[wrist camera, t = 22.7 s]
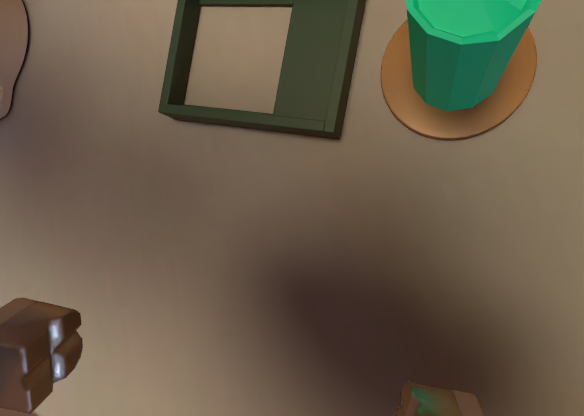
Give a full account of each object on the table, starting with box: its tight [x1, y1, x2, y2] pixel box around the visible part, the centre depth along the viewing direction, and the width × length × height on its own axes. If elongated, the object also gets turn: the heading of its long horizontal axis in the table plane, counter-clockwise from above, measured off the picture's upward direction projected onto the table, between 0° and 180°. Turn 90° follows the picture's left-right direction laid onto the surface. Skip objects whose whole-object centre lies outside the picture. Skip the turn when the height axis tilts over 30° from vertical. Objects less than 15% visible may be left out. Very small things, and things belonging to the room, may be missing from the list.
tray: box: [159, 0, 366, 139], centre depth 31 cm, size 16×12×2 cm
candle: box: [406, 0, 541, 111], centre depth 21 cm, size 6×6×12 cm
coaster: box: [381, 19, 537, 140], centre depth 27 cm, size 10×10×1 cm
